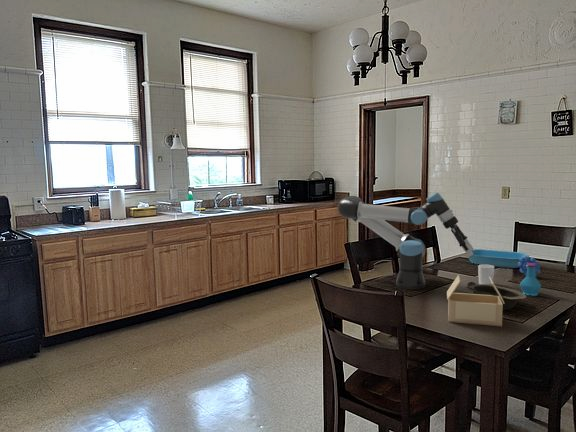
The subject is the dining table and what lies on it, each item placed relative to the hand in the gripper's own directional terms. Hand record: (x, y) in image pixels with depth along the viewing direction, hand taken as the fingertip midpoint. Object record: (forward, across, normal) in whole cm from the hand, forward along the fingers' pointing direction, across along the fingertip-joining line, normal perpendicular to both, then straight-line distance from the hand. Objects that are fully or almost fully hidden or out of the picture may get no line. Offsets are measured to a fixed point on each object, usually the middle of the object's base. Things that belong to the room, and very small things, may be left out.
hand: (471, 252), depth 244 cm
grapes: (+31, +26, -15) cm, 43 cm away
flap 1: (-1, -59, +7) cm, 59 cm away
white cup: (+18, +2, +4) cm, 19 cm away
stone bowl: (+20, -34, 0) cm, 40 cm away
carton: (+15, -58, +8) cm, 60 cm away
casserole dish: (+23, +56, -2) cm, 61 cm away
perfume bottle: (+30, -10, -13) cm, 34 cm away
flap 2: (+8, -57, -7) cm, 58 cm away
